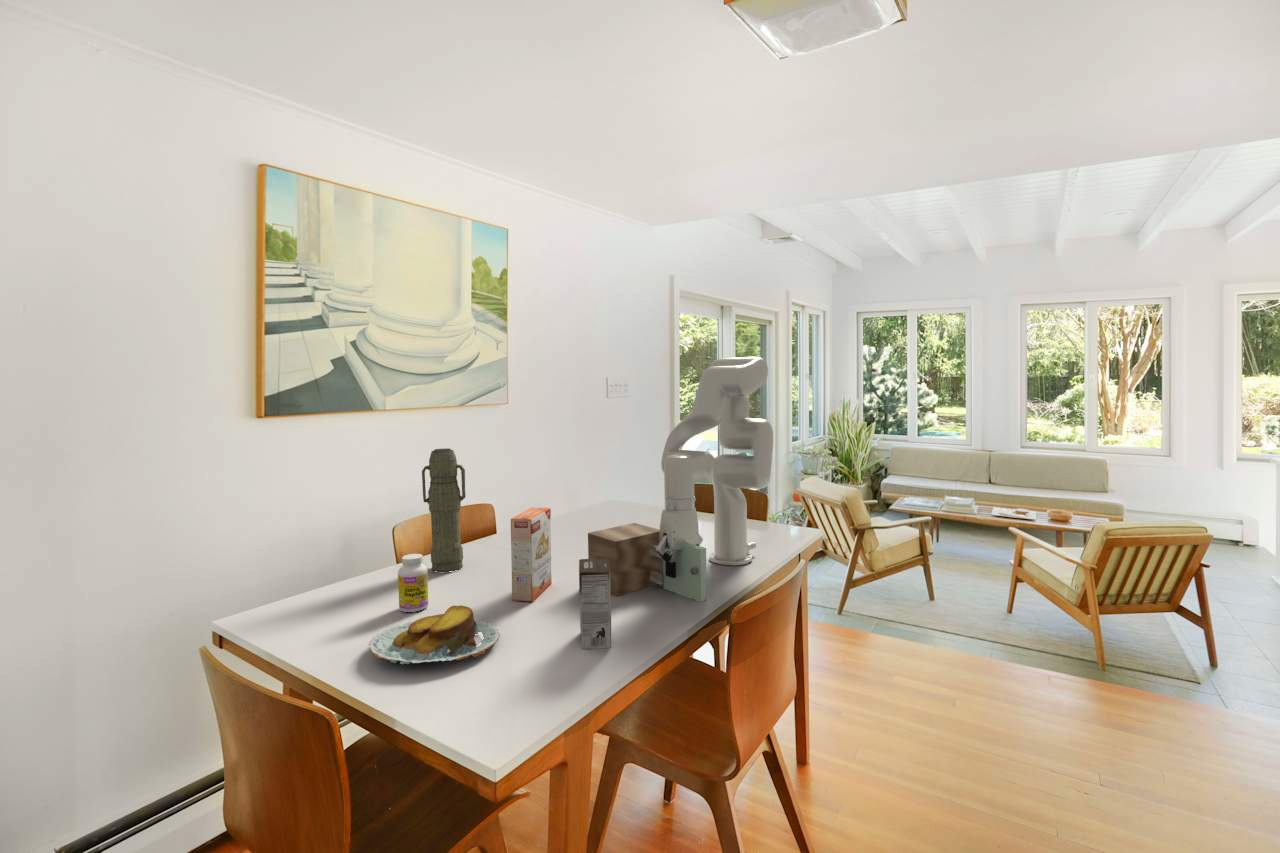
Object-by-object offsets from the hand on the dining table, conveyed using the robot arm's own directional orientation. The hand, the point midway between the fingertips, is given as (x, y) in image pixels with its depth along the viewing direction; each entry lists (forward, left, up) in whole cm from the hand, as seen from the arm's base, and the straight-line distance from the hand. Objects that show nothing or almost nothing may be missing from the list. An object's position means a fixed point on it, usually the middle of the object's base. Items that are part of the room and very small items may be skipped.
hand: (680, 573), depth 155 cm
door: (0, +1, -5) cm, 5 cm away
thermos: (+36, -61, -5) cm, 71 cm away
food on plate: (+59, -11, -6) cm, 60 cm away
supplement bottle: (+55, -36, -5) cm, 66 cm away
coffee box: (+33, +8, -5) cm, 34 cm away
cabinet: (+6, -13, -5) cm, 15 cm away
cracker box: (+28, -26, -5) cm, 38 cm away
